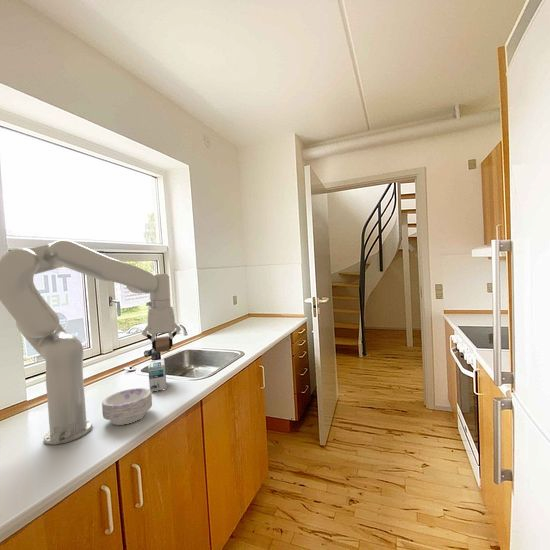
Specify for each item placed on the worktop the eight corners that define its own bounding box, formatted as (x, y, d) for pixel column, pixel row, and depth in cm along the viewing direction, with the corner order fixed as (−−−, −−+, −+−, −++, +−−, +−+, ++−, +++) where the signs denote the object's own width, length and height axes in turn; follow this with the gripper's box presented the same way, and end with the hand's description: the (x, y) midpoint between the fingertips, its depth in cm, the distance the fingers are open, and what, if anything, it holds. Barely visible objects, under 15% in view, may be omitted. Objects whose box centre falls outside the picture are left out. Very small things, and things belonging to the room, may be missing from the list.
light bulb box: (166, 390, 123) (165, 364, 123) (149, 393, 120) (147, 367, 120) (166, 381, 133) (164, 358, 133) (150, 384, 130) (148, 360, 130)
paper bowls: (147, 404, 110) (146, 383, 110) (157, 419, 98) (155, 396, 98) (101, 417, 102) (100, 395, 101) (105, 436, 89) (103, 410, 89)
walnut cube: (169, 350, 115) (169, 338, 115) (156, 352, 113) (155, 340, 113) (168, 348, 119) (168, 336, 119) (155, 350, 117) (155, 337, 118)
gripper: (136, 306, 109) (138, 354, 109) (183, 303, 116) (185, 348, 116) (137, 305, 116) (139, 350, 116) (181, 302, 123) (183, 344, 123)
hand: (162, 349), depth 116 cm, fingers closed on walnut cube, 4 cm apart
